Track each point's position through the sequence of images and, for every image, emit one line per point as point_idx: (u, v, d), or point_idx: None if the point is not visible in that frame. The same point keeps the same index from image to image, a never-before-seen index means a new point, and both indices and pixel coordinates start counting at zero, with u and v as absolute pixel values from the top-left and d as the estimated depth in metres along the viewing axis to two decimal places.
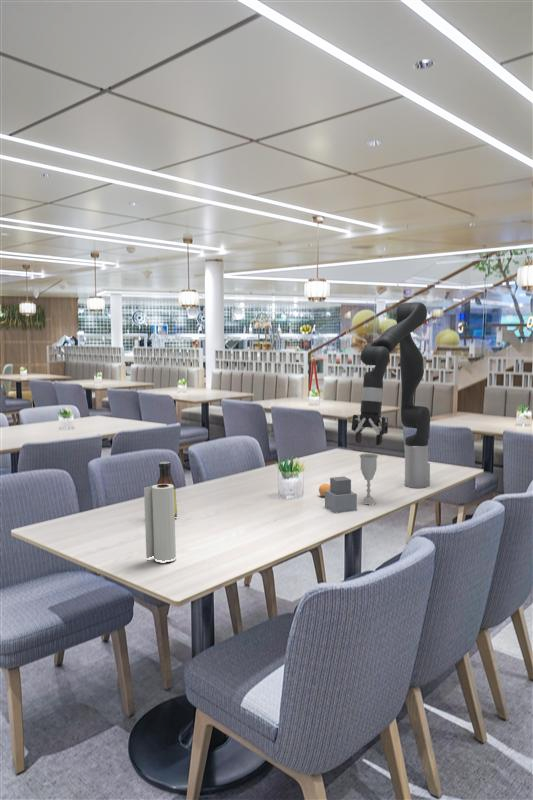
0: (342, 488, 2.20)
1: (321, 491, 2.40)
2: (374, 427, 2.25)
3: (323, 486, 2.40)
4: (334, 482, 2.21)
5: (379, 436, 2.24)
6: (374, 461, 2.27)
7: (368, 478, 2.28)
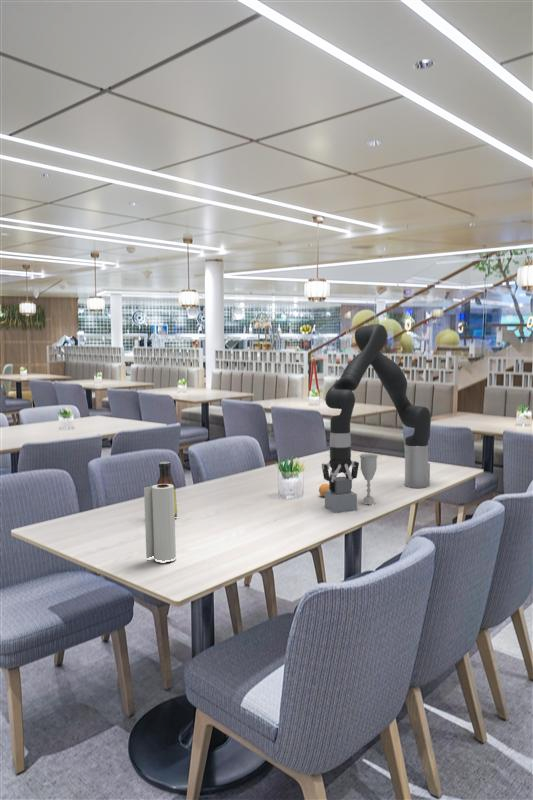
0: (342, 488, 2.20)
1: (321, 491, 2.40)
2: (348, 473, 2.22)
3: (323, 486, 2.40)
4: None
5: None
6: (374, 461, 2.27)
7: (368, 478, 2.28)
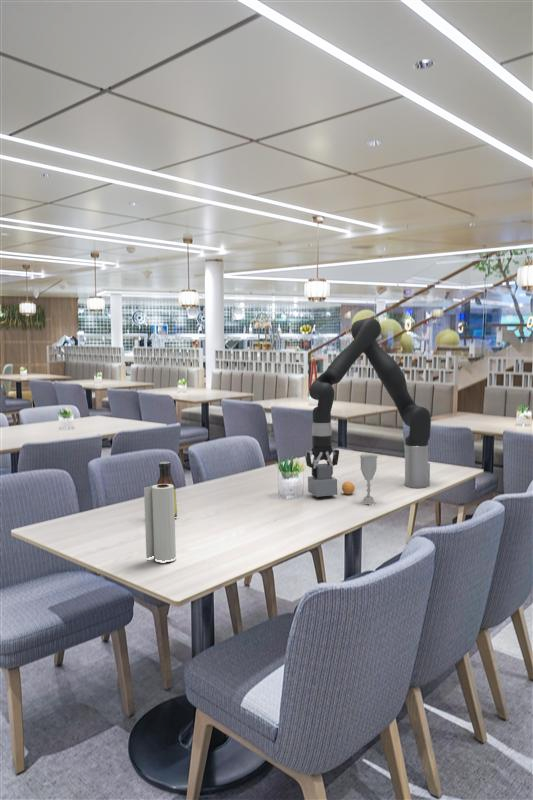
0: (323, 474, 2.37)
1: (353, 491, 2.44)
2: (329, 460, 2.39)
3: None
4: (316, 468, 2.38)
5: None
6: (374, 461, 2.27)
7: (368, 478, 2.28)
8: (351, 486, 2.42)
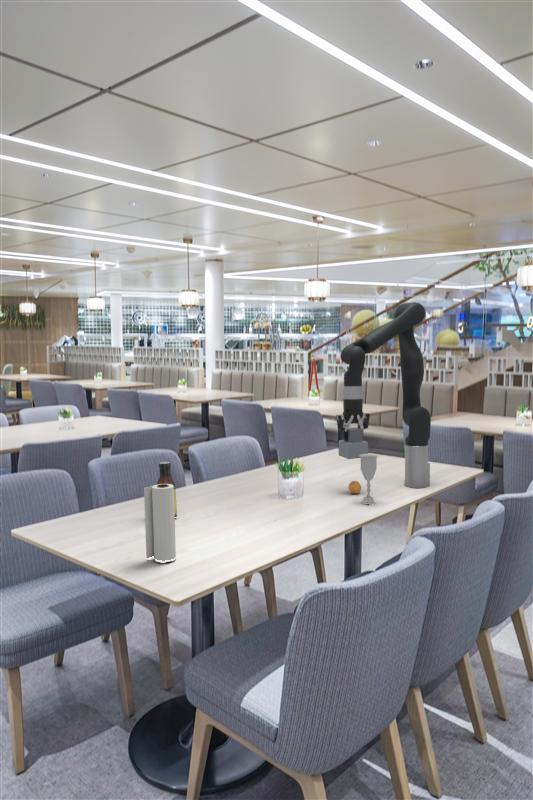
0: (354, 436, 2.40)
1: (354, 493, 2.44)
2: (360, 423, 2.42)
3: (351, 490, 2.44)
4: (348, 431, 2.41)
5: None
6: (374, 461, 2.27)
7: (368, 478, 2.28)
8: (359, 488, 2.43)
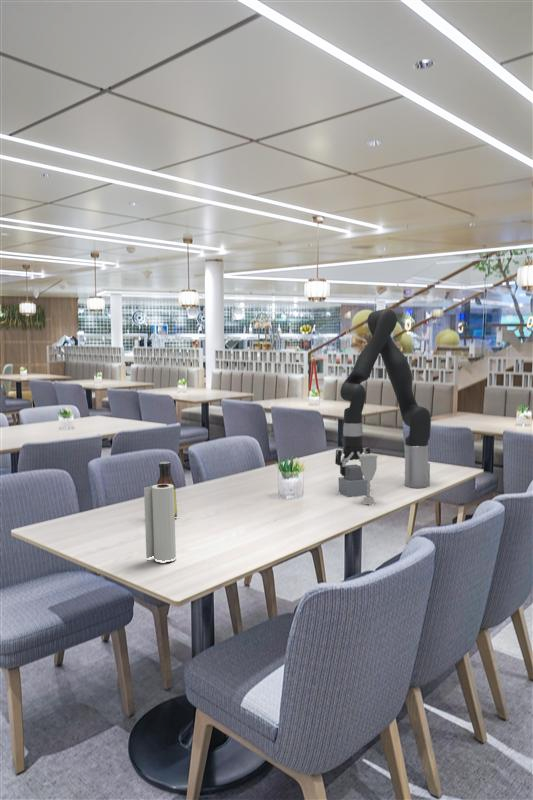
0: (354, 474, 2.42)
1: None
2: None
3: None
4: (348, 469, 2.42)
5: None
6: (374, 461, 2.27)
7: (368, 478, 2.28)
8: None
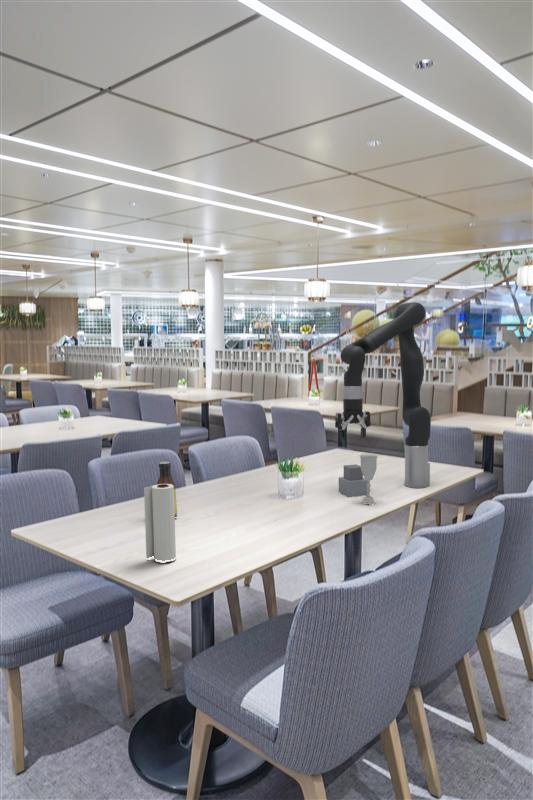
0: (354, 474, 2.42)
1: None
2: (362, 422, 2.42)
3: None
4: (348, 469, 2.42)
5: (365, 429, 2.44)
6: (374, 461, 2.27)
7: (368, 478, 2.28)
8: None
